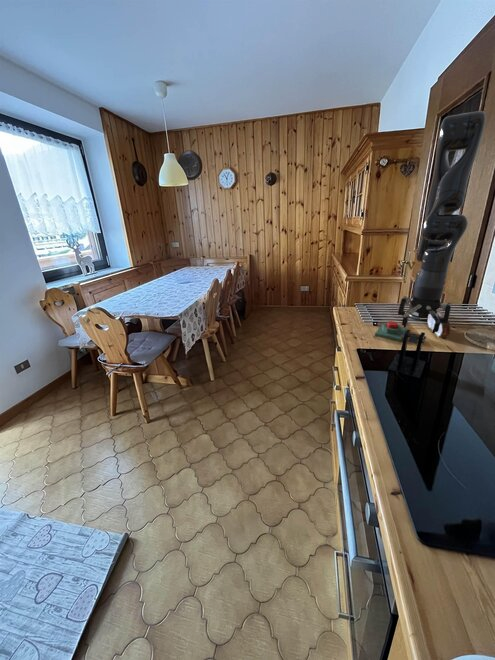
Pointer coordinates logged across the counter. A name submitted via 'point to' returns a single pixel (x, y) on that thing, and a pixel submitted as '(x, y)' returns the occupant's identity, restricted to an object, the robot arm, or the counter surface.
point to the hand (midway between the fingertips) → (419, 329)
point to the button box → (391, 332)
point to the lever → (414, 338)
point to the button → (392, 325)
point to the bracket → (409, 358)
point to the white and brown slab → (443, 328)
